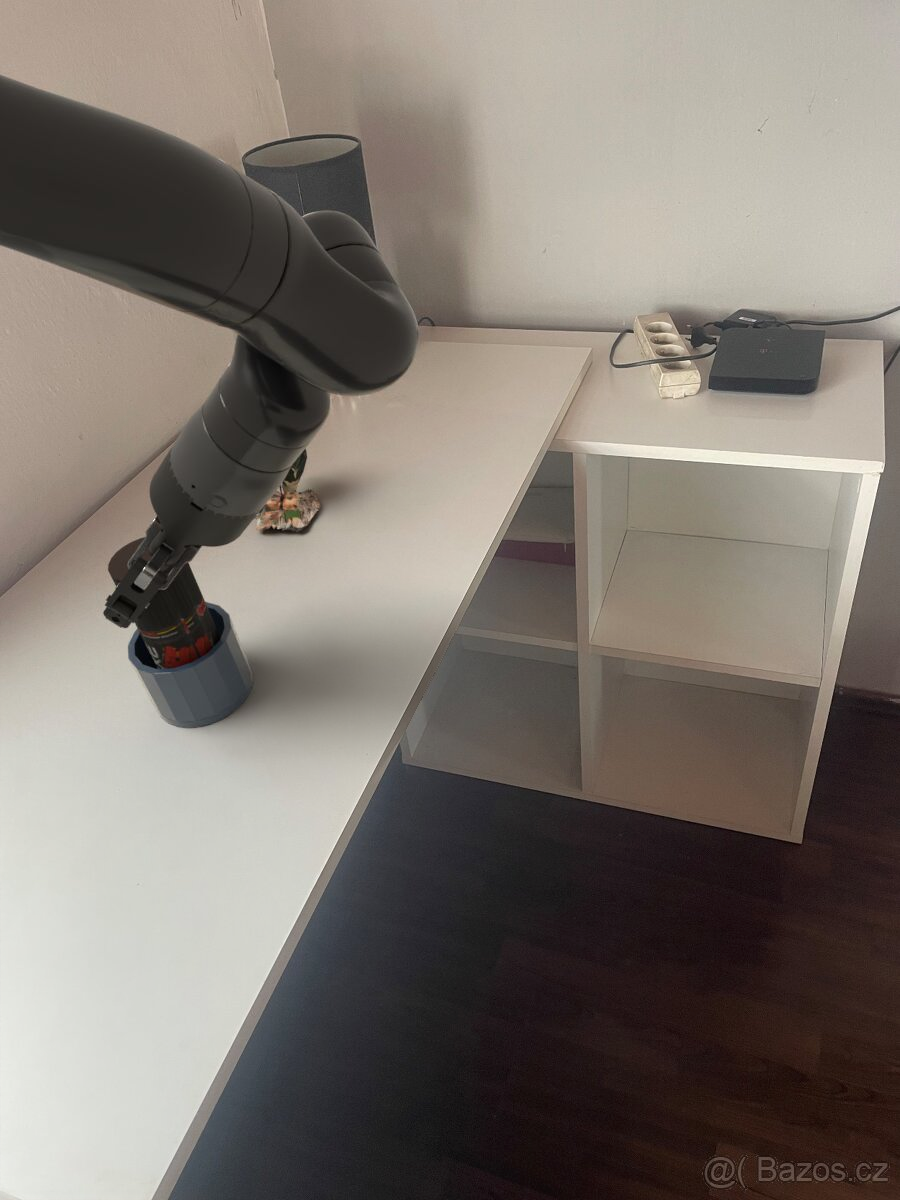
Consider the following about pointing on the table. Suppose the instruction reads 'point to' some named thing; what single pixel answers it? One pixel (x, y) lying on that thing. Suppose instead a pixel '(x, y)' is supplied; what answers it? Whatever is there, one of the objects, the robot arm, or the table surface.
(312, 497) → the plant with pod
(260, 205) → the robot arm
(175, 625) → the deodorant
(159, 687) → the holder
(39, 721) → the table surface
